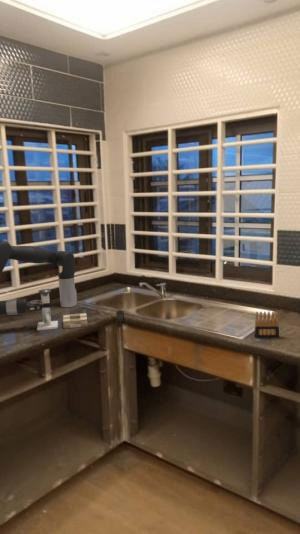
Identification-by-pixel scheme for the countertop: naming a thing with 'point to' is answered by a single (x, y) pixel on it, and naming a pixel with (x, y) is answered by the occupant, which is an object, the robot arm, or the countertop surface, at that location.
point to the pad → (47, 325)
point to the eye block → (75, 320)
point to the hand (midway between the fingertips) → (51, 303)
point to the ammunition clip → (266, 326)
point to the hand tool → (119, 318)
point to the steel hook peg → (45, 299)
